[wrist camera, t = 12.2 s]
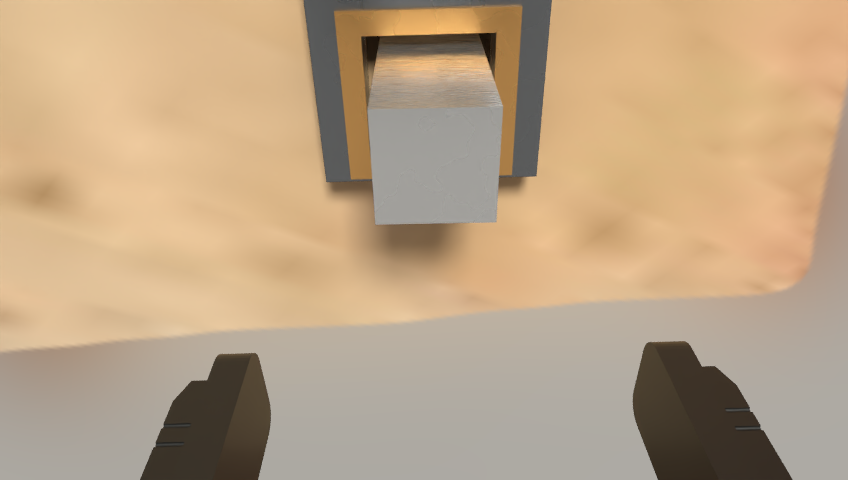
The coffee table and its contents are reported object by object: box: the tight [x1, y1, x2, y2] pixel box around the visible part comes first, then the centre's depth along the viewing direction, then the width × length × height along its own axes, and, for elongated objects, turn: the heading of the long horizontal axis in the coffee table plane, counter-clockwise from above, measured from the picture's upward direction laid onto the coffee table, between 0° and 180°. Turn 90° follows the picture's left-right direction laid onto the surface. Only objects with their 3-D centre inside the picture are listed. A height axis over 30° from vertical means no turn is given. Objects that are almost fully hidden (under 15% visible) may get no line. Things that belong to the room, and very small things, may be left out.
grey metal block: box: [367, 34, 503, 225], centre depth 25 cm, size 4×4×9 cm
